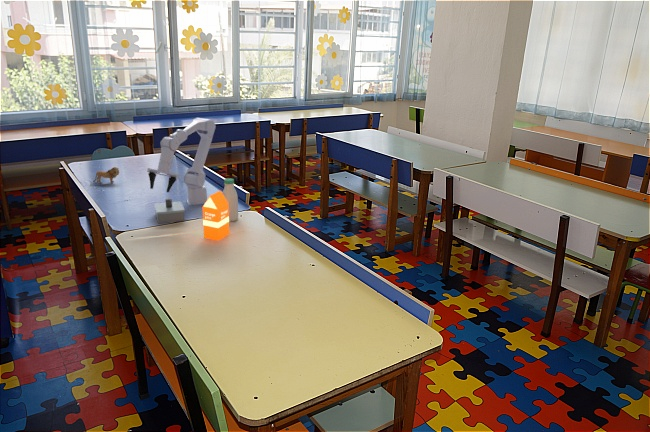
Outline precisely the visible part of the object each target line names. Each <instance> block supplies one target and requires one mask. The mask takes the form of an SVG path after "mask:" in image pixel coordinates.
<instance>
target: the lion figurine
mask: <svg viewBox="0 0 650 432" xmlns="http://www.w3.org/2000/svg"><path fill="white" fill-rule="evenodd" d="M119 174H120V170H119V167H117V166H114V167H112V168H110V169H108V170H107V171H103V170H99V171H97V172H96V174H95V178H94V180H93V181H92V183H95V182H98V183H99V184H103V182H102V181H101V179H102V178H104V179H109V180H110V184H114V182H115V181H114V180H113V179H115V178H116V177H117V176H119Z"/></svg>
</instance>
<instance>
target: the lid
mask: <svg viewBox="0 0 650 432" xmlns="http://www.w3.org/2000/svg"><path fill="white" fill-rule="evenodd" d="M153 206H154V211H155V210H156V213H155V215H156V214H157V215H158V214H168V213H178V212H184V213H185V212H186V210H185V208H184V205H183V203H182V201H180V200H179V201H172V198H166V199H165V202H159V203H153Z"/></svg>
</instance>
